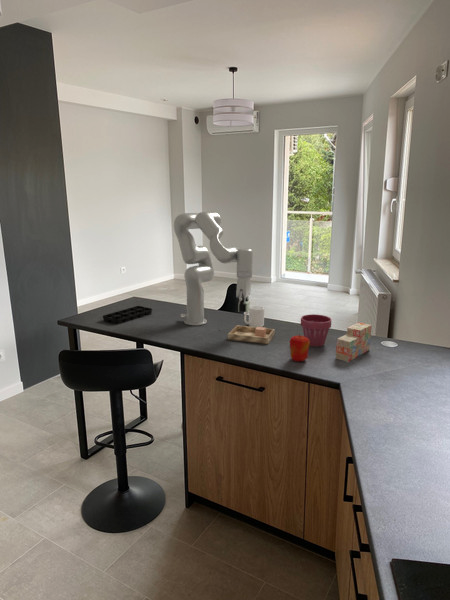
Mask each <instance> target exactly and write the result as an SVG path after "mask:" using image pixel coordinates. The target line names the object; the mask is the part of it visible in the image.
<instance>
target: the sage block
mask: <svg viewBox="0 0 450 600" xmlns="http://www.w3.org/2000/svg"><path fill="white" fill-rule="evenodd" d="M237 303H238V306H237V307H238V308H237V309H238V311H237V312H239V302H237ZM245 304H246V312H248V311H249V307H250V306H251V305H250V304H251V303H250V301H245ZM246 312H245V313H246Z"/></svg>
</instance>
